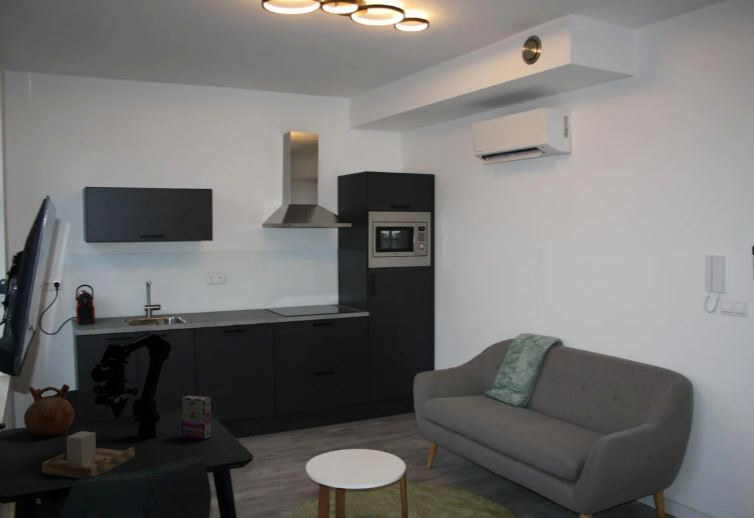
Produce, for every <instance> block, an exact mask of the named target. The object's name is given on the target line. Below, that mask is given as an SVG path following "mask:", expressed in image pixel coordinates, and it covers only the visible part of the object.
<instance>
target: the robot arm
mask: <svg viewBox="0 0 754 518" xmlns="http://www.w3.org/2000/svg"><path fill="white" fill-rule="evenodd" d="M144 347H145V348H147V350H148V353H147V354H148V357H149V365H148V369H147V371H146V372H147V373H146V377H145V380H144V384H143V388H142V392H141V396H140V397H139V398H138V399H137V398H135V399H134V401H133V406H132V408H131V409H132V416H133V419H134V421H135V422H138V424H137V426H136V428H137V433H136V434H137V437H138V439H139V440H144V439H145V438H147V439H153V438H158V437H157V423H158V422H160V420H161V414H159V412H158V411H157V403H156V400H155V395H156V392H157V387H158V385H159V384H158V383H159V380H160V376H161V371H162V368H163V365H164V362H165V361H166V360H167V359H168V358H169V356H170V353H171V350H172V345H171V344H170V342H169V341H167V340H165V339H164V338H162V337H159V336H158V335H157V334H156V333H153V332H145V333H144V332H143V334H141V335H138V336H135V337H134V338H132V339H129V340H127V341H124V342H115V343H109V344H108V345H107V347H106V349H105V351H104V353H103V355H102V357H101V359H100V362H98V363H95V367H94V368H93V369H92V370H91V373H90V376H91V379H92V381H93V382H94V383H97V384H96V385H94V386H93V387H92V392H93V394H94V395H96V397H95V398H94V404H95V405H97V406H98V405H99V406H109V407H110V408H111V411H112V413H113V415H114V417H115V419H119V418H120V417H121V415H122V413H123V410H124V408H125V406H126V405H127V404H128V401H129V400H130V398H129V397H127V396H128V395H129V394H130V395H132V396H137V395H139V389H138V387H137V386H126V383H128V378H126V365H128V364H130V361H129V360H127V358H129V357H130V356H131V354H132V353H133V352H135V351H137V350H139V349H141V348H144ZM102 382H103V383H104V382H105V384H104V385H101V384H99V383H102ZM145 440H146V439H145Z"/></svg>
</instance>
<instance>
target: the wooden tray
mask: <svg viewBox="0 0 754 518" xmlns="http://www.w3.org/2000/svg"><path fill="white" fill-rule="evenodd" d="M135 449H136V448H135V447H133V446H132V447H129V448H128V449H126V450H121V449H120V450H119V449H111V448H103V447H102V448H101V447H96V461H94V462H92V463H90V464H88V465H86V466H84V467H79V466H71V465H67V451H66V452H63V453H61V454H59V455H56V456H55V457H52V458H50V459H48V460H45V461H43V462H42V463H41V467H42V468H41V469H42V470H41V471H42V474H44V475H50V474H51V475H53V476H59V477H66V478H67V477H69V478H74V479H75V478H76V479H83V478H84V477H89V476H95V475H99V474H101V475H102V474H104V473H106V472H108V471H111V469H114V468H116V467H117V466H120V465H122V464H123V463H125V462H128V461H129V460H131V459H133V458H135V455H136V454H135ZM99 476H100V475H99Z"/></svg>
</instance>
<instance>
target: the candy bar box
mask: <svg viewBox="0 0 754 518" xmlns="http://www.w3.org/2000/svg"><path fill="white" fill-rule="evenodd" d="M182 436H186V437H192V438H198V439H206V438H208V439H210V438H209V437H211V438H212V397H209V396H208V397H207V396H202V395H201V396H199V395H191V394H190V395H185V396H182V397H181V437H182ZM198 439H197V440H198ZM206 440H207V439H206Z"/></svg>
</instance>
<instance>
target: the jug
mask: <svg viewBox="0 0 754 518" xmlns="http://www.w3.org/2000/svg"><path fill="white" fill-rule="evenodd" d="M28 390H29V392H30V394H31V396H32V398H33V401H34V402H33V403H31V404H30V405H29V406H28V407H27V409H26V411H25V413H24V415H23V421H24V425H25V428H26V429H27V431H29V432H30V433H31V434H32V435H33V436H34V437H36V436H37V437H36V438H43V437H45V438H53V436H54V437H58V436H57V435H59V436H61V434H62V435H64V434H65V433H66V432H67V430H68V429H69V428H70V427H71V425H72V423H73V422H74V419H75V410H74V407H73V406H72V404H71V403H70V402H69V401H68V400H67V399H66V396H67V393H68V392H69V390H70V386H69V385H68V384H63V385H62V387H61V388H60V389H59V388H58V387H54V386H46V387H44V388H42V389H41V388H37V389H36V388H34V387H33V386H28ZM48 391H54V392H56V393H57V395H47V396H42V395H43V394H44V393H46V392H48ZM63 433H64V434H63Z"/></svg>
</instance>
